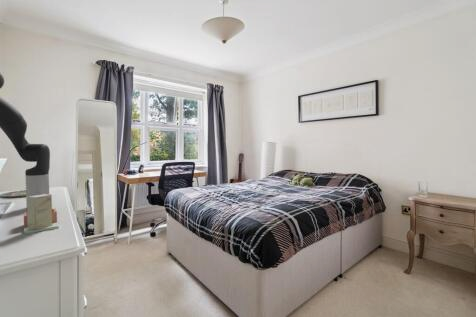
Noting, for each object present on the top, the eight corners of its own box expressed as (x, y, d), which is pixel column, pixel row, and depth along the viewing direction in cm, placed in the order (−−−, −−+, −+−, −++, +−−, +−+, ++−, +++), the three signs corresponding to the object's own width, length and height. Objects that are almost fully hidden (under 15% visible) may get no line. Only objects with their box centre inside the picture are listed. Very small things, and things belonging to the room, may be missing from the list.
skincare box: (35, 230, 86) (34, 197, 86) (26, 229, 87) (25, 196, 87) (53, 224, 92) (52, 194, 92) (44, 223, 93) (43, 193, 93)
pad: (24, 229, 89) (24, 227, 89) (57, 224, 95) (57, 222, 95) (23, 234, 84) (23, 232, 84) (58, 228, 91) (58, 226, 91)
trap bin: (24, 224, 95) (24, 212, 95) (55, 219, 101) (55, 208, 101) (24, 229, 89) (23, 216, 89) (57, 223, 96) (56, 211, 96)
